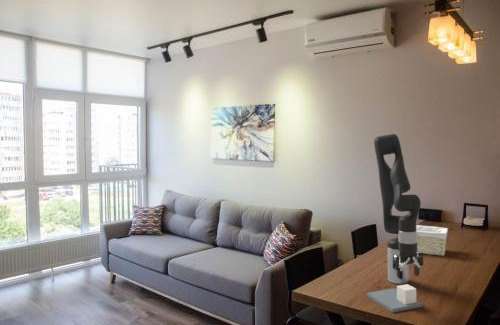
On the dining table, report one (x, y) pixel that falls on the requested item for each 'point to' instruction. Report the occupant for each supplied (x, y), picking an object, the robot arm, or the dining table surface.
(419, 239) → the storage basket
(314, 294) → the dining table surface
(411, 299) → the cream rounded cube
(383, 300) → the base plate
